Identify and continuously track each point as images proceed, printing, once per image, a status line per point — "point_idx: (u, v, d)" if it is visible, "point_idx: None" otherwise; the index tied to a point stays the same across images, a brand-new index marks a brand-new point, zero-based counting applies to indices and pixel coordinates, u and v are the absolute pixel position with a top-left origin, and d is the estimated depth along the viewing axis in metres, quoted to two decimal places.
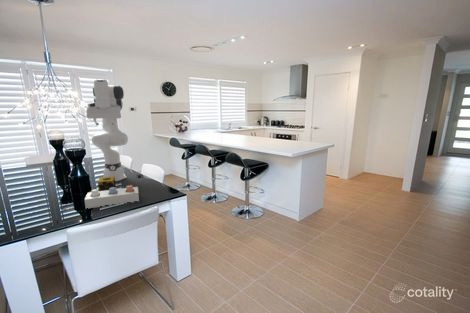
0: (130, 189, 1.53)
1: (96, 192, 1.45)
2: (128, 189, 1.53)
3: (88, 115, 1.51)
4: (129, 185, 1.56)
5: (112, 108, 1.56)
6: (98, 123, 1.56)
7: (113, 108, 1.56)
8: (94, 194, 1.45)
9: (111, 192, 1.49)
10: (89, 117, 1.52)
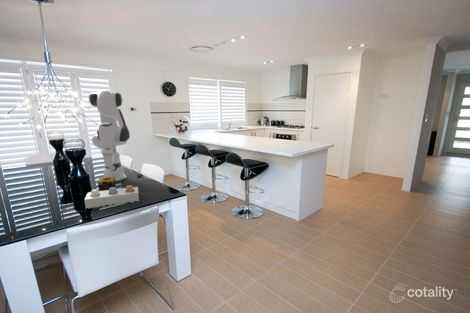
0: (130, 189, 1.53)
1: (96, 192, 1.45)
2: (128, 189, 1.53)
3: None
4: (129, 185, 1.56)
5: None
6: None
7: None
8: (94, 194, 1.45)
9: (111, 192, 1.49)
10: (112, 165, 1.40)
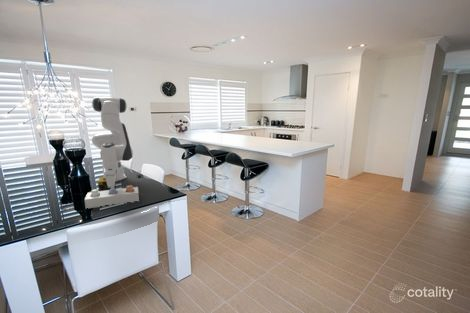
0: (130, 189, 1.53)
1: (96, 192, 1.45)
2: (128, 189, 1.53)
3: (114, 183, 1.42)
4: (129, 185, 1.56)
5: None
6: None
7: None
8: (94, 194, 1.45)
9: (111, 193, 1.49)
10: (114, 185, 1.42)
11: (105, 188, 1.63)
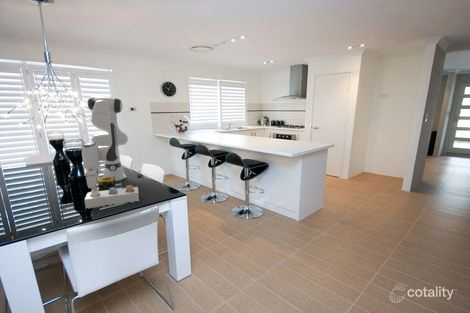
0: (130, 189, 1.53)
1: (96, 192, 1.45)
2: (128, 189, 1.53)
3: (95, 184, 1.38)
4: (129, 185, 1.56)
5: None
6: None
7: None
8: (94, 194, 1.45)
9: (111, 192, 1.49)
10: (95, 186, 1.38)
11: (105, 188, 1.63)
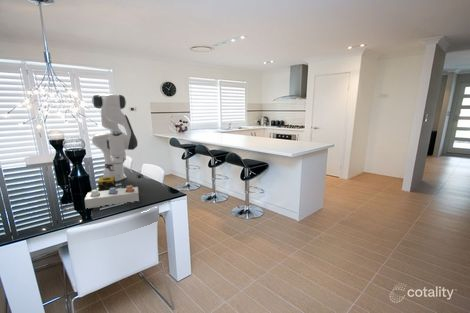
0: (130, 189, 1.53)
1: (96, 192, 1.45)
2: (128, 189, 1.53)
3: (122, 171, 1.42)
4: (129, 185, 1.56)
5: None
6: None
7: None
8: (94, 194, 1.45)
9: (111, 192, 1.49)
10: (121, 173, 1.43)
11: (105, 188, 1.63)
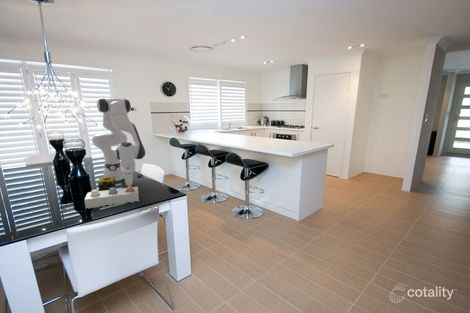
0: (130, 190, 1.53)
1: (96, 192, 1.45)
2: (128, 190, 1.53)
3: None
4: None
5: None
6: None
7: None
8: (94, 194, 1.45)
9: (111, 192, 1.49)
10: (132, 183, 1.46)
11: (105, 188, 1.63)
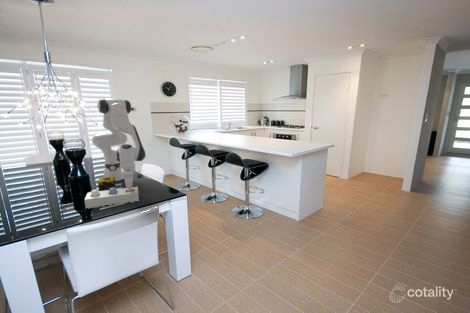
0: None
1: (96, 192, 1.45)
2: None
3: None
4: None
5: None
6: (129, 187, 1.54)
7: None
8: (94, 194, 1.45)
9: (111, 192, 1.49)
10: (132, 185, 1.47)
11: (105, 188, 1.63)
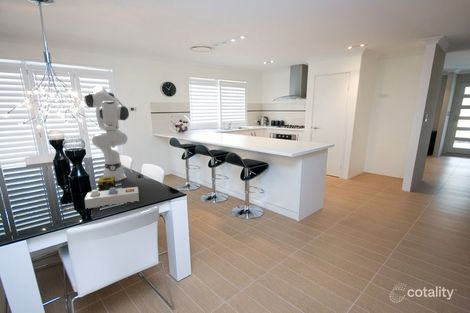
0: None
1: (96, 192, 1.45)
2: None
3: (115, 138, 1.47)
4: None
5: None
6: None
7: None
8: (94, 194, 1.45)
9: (111, 192, 1.49)
10: (114, 140, 1.48)
11: (105, 188, 1.63)
